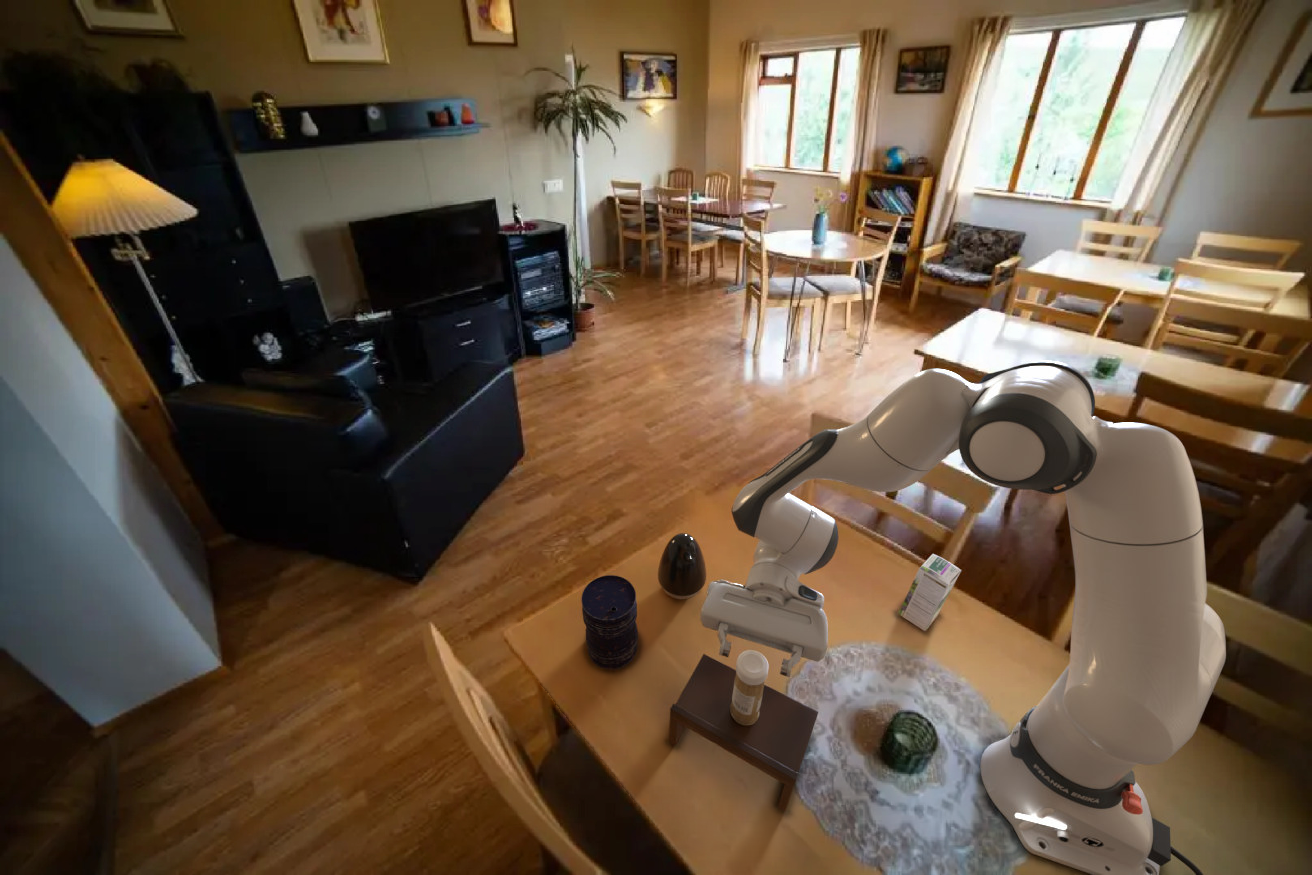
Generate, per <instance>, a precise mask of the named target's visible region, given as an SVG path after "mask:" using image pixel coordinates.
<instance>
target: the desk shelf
mask: <svg viewBox="0 0 1312 875" xmlns="http://www.w3.org/2000/svg"><path fill="white" fill-rule="evenodd" d="M735 677H736V668H733V667H731V666H729V665H727V664H725V663H724V662H721V661H720V660H717V659H715V658H713V657H711V656H710V655H707V654H705V653H703V654H702V656H701V658H700V660H699V661H698V663H697V664H696V667H695V669H694V670H693V672H692V674H691V675H690V677H689V679H688V681H687V683H686V685H685V687H684V688H683V690H682V692H681V694H680V695H679V697H678V699H677V701H676V703H672V705H671V706H670V709H669V743H671V744H673V745H674V746H677V744H678V742H679V740H680V738H681V736H682V734H683V733H684V730H685V729H686V728H687V729H689V730H690V731H692V732H694V733H695V734H697V735H699V736H701V737H702V738H704V739H705V740H708V741H709V742H711V743H713V744H715V745H716V746H717V747H720V748H722V749H723V750H725V751H727V752H728V753H730V754H733V756H735V757H737V758H739V759H740V760H742V761H744V762H745V763H748V764H750V765H751V766H753V767H755V768H756V769H757V770H759V771H762V772H763V773H765V774H766V775H769V776H770V777H771V778H774V779H775V780H777V781H779V782H781V783H782V784H784V786H783V789H782V792H781V796H780V798H779V801H778V805H777V808H779V809H781V810H782V811H784V812H786V811H787V808H788V806H789V802H790V799H791V796H792V794H793V790H794V787H795V785H796V782H797V779H798V776H799V773H800V770H801V767H802V764H803V760H804V757H805V754H806V752H807V748H808V745H809V743H810V739H811V736H812V733H813V730H814V727H815V724H816V722H817V718H818V716H819V710H816V709H814V708H812V707H810V706H808V705H807V704H804V703H802V702H800V701H799V700H796V699H794V698H792V697H790V696H788V695H786V694H784V693H783V692H780V691H778V690H777V689H774V688H773V687H770V686H768V685H766V684H765V683H764V688H763V695H762V701H761V706H760V708H759V717H758V719H757V721H756V722H755V723H754V724H752V725H748V726H745V725H741V724H739V723H737V722H736V721H735V720H734V719H733V717H732V715H731V712H730V707H731V703H732V695H733V688H734V681H735Z"/></svg>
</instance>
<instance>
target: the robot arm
mask: <svg viewBox="0 0 1312 875" xmlns="http://www.w3.org/2000/svg"><path fill="white" fill-rule="evenodd" d="M1095 408H1096V398H1095V392H1094V390H1093V388H1092V385H1091V383H1090V381H1089V380H1088V378H1087V377H1086V376H1085V375H1084V374H1083V373H1082V372H1080V371H1079V370H1078V369H1077V368H1075V367H1074V366H1071V365H1069V364H1066V363H1064V362H1060V361H1057V360H1038V361H1032V362H1027V363H1023V364H1019V365H1016V366H1012V367H1008V368H1006V369H1002V370H998V371H994V372H990V373H987V374H985V375H984V376H983V377H981V379H980V380H979V382H978V383H972V382H969V380H966V379H965V378H964V377H962V376H960V375H959V374H957V373H956V372H953V371H950V370H947V369H944V368H943V369H942V368H929V369H925V370H922V371H919V372H918V373H916V374H915V375H913V376H912V377H910V378H909V379H907V380H905V381H904V382H902V384H901V385H900V386H898V387H897V388H895V389H894V390H893V391H892V392H891V393H889V394H888V395H887V396H886V397H884V399H883V400H882V401H881V402H880V403H879V404H878V405H876V406H875V407H874V409H873V410H872V411H871V412H870V413H868V415H866V417H864V418H863V419H861V420H860V421H857V422H856V423H853V424H850V425H849V426H846V427H842V428H837V429H834V428H833V429H830V428H829V429H827V428H826V429H824V430H821V431H820V432H818V433H816V434H815V435H813V436H812V437H810V438H809V439H807V440H806V441H804V442H803V443H802V444H801V445H799V446H798V447H797V448H795V449H794V450H793V451H792V452H790V453H789V454H787V455H786V456H785V457H784V458H783V459H781V460H780V461H778V462H777V463H776V464H775V465H774V466H773V467H771V468H770V469H768V470H767V471H766V472H764V473H763V474H761V475H760V476H758V477H756V478H754V479H752V480H750V481H749V482H748V483H747V484H746V485H744V486H743V487H742V488H741V489H740V491H739V492H738V493H737V495H736V497H735V499H734V501H733V504H732V506H731V515H732V519H733V522H734V524H735V526H736V528H737V530H738V531H739V532H741V533H743V534H746V535H747V536H749V537H752V538H755V539H757V540H758V541H757V544H756V546H755V550H754V553H753V558H752V560H753V561H752V562H753V564H752V565H751V566H750V569H749V570H748V574H747V578H746V582H745V584H744V585H743V584H740V583H735V582H731V581H728V580H725V579H719V580H714V581H711V582H710V583H708V586H707V589H706V597H705V600H704V602H703V604H702V606H701V608H700V616H699V618H700V622H701V625H702V627H703V628H706V629H710V630H714V631H717V638H718V641H719V645H720V646H719V652H718V655H719V656H722V657H725V658H729V656H730V653H731V648H732V641H728V640H727V636H728V635H729V636H733V637H735V638H740V639H742V640H746V641H749V642H752V643H756V644H758V645H762V646H764V647H769V648H772V649H775V650H778V651H782V652H784V653H787V654H791V655H790V658H789V659H786V658H782V661H781V667H780V672H779V675H781V676H784V677H787V678H790V677H791V674H792V669H794V667H796V665H797V664H799V663H800V662H801V659H802V658H804V659H807V660H810V661H814V662H820V661H822V660H823V659H824V658H825V656H826V653H827V649H828V644H829V625H828V624H829V622H828V617H827V614H826V613H825V611H824V606H825V596H824V595H823V594H822V593H820V592H819V591H818V590H815V589H813V588H811V587H810V586H807V585H806V584H805V583H803V582H802V581H800V577H801V576H802V575H809V574H811V573H813V572H816V571H819V570H820V569H822V568H824V567H825V566H827V565H828V564H829V563H830V561H831V560H832V559H833V558H834V555H835V554H836V550H837V547H838V545H839V544H838V543H839V529H838V525H837V524H838V523H837V522H836V520H835V518H833V517H832V516H830V515H829V514H827V513H825V512H824V511H822V510H821V509H818V508H817V507H815V506H813V505H812V504H809V503H807V502H806V501H804V500H802V499H800V498H799V497H797V496H795V495H793V494H792V493H791V492H792V491H794V490H796V489H797V488H798V487H800V486H801V485H802V484H804V483H806V482H808V481H812V480H828V481H834V482H838V483H842V484H846V485H849V486H854V487H857V488H860V489H863V490H867V491H871V492H876V493H877V492H878V493H892V492H898V491H902V490H903V489H906V488H908V487H910V486H913V485H914V484H915V483H917V482H918V481H920V480H921V479H923V478H924V477H925V476H926V475H928V474H929V472H931V471H932V470H933V469H934V468H936V467H937V466H938V465H939V464H940V463H941V462H943V460H945V459H946V457H948V456H950V455H951V454H952V453H954V452H956V451H958V450H959V454H960V457H961V459H962V462H963V463H964V465H965V466H966V468H968V470H969V471H970V472H971V473H972V474H974V476H976V477H977V478H979V479H981V480H982V481H984V482H986V483H989V484H990V485H991V484H992V485H994V486H997V487H1001V488H1006V489H1012V490H1023V491H1025V490H1026V491H1027V490H1028V491H1034V492H1039V493H1043V494H1046V495H1056V494H1061V493H1064V495H1065V499H1066V506H1067V515H1068V522H1069V523H1068V524H1069V532H1070V539H1071V540H1070V541H1071V548H1072V549H1071V550H1072V556H1073V566H1074V577H1075V582H1074V583H1075V586H1074V588H1075V589H1074V601H1073V608H1072V619H1071V631H1070V652H1069V663H1068V665H1067V666H1066V667H1065V669H1064V670H1063V672H1062V673H1061V674H1060V675H1059V677H1058V678H1057V680H1056V681H1055V682H1054V684H1053V685H1052V686H1051V688H1050V689H1049V690H1048V691H1047V693H1046V694H1045V695H1044V696H1043V697H1042V699H1041V700H1040V701H1039V703H1038V704H1037V705H1035V706H1032V707H1031V708H1030V709H1029V710H1028V711H1027V712H1026V713H1025V714H1024V715H1023V716H1022V718H1021V719H1020V720H1019V721H1017V723H1016V724H1015V726H1014V727H1013V729H1012V731H1011V734H1009V735H1008V736H1006V737H1005V738H1003V739H1001V740H997V741H995V742H992V743H991V744H989V745H988V746H987V747H986V748H985V749H984V751H983V752H982V755H981V758H980V764H979V766H980V770H979V771H980V776H981V780H982V783H983V786H984V788H985V790H986V792H987V794H988V796H989V798H990V799H991V801H992V803H993V804H994V805H995V807H996V808H997V809H998V811H999V812H1000V813H1001V814H1002V815H1003V816H1004V817H1005V819H1006V820H1007V821H1008V822H1009V824H1010V825H1011V826H1012V827H1013V829H1014V831H1015V833H1016V836H1017V837H1018V839H1019V841H1020V843H1021V844H1022V846H1023V848H1025V849H1026V851H1027V852H1029V853H1031V855H1035V856H1038V857H1041V858H1044V859H1047V860H1050V861H1051V862H1055V863H1058V864H1061V865H1064V866H1066V867H1069V868H1072V869H1076V870H1078V871H1080V872H1084V873H1087V874H1090V875H1160V870H1161V868H1160V867H1163V866H1164V865H1166V864H1167V863H1169V862H1171V860H1172V856H1174V857H1175V858H1176V859H1178V861H1180V862H1182V863H1183V864H1184V865H1185V866H1187V868H1189V869H1190V870H1191V872H1193V873H1194V874H1195V875H1204V873H1203V872H1202V871H1201V869H1199V867H1198V866H1197V865H1196V864H1195V863H1194V862H1192V861H1191V860H1190V859H1189V858H1188V857H1186V856H1185V855H1184V854H1183V853H1181V852H1180V851H1178V850H1177V849H1175V848H1174V847H1173V846H1172V844H1171V827H1170V826H1168V825H1167V824H1165V823H1163V822H1161V821H1159V820H1158V819H1156V818H1154V817H1152V814H1151V810H1150V806H1149V803H1148V801H1147V798H1146V796H1145V794H1144V792H1143V789H1142V788H1141V787H1140V785H1139V784H1138V782H1137V781H1136V777H1135V776H1136V775H1135V773H1134V768H1136V767H1137V766H1138V765H1143V766H1144V765H1145V766H1152V765H1153V766H1154V765H1160V764H1162V763H1165V762H1166V761H1168V760H1169V759H1170V758H1171V757H1173V756H1174V755H1176V753H1178V751H1180V749H1182V747H1184V746H1185V744H1186V743H1188V741H1189V740H1191V738H1192V737H1193V736H1194V734H1195V732H1196V731H1197V728H1198V725H1199V724H1200V722H1201V719H1202V717H1203V714H1204V712H1205V711H1206V710H1205V709H1206V707H1207V705H1208V702H1209V701H1210V698H1211V696H1212V693H1213V692H1214V689H1215V686H1216V684H1217V682H1218V680H1219V677H1220V675H1221V672H1222V670H1223V668H1224V666H1225V663H1226V659H1227V641H1226V633H1225V632H1226V631H1225V626H1224V623H1223V621H1222V619H1221V618H1220V616H1219V615H1218V614H1217V613H1216V611H1215V610H1214V609H1213V608H1212V607H1211V606H1210V605H1208V604H1207V603H1206V602H1207V597H1208V583H1207V570H1206V569H1207V568H1206V549H1205V538H1204V537H1205V536H1204V523H1203V522H1204V520H1203V513H1202V512H1203V511H1202V505H1201V500H1200V499H1201V498H1200V493H1199V489H1198V485H1197V480H1196V476H1195V474H1194V470H1193V466H1192V463H1191V461H1190V459H1189V456H1188V453H1187V450H1186V448H1185V446H1184V445H1183V443H1182V441H1181V440H1180V439H1179V438H1178V437H1177V436H1176V435H1175V434H1173V433H1172V432H1170V431H1168V430H1166V429H1165V428H1162V427H1159V426H1156V425H1151V424H1147V423H1142V422H1141V423H1140V422H1116V423H1114V422H1112V421H1106V420H1103V419H1101V418H1099V416H1096V415H1094V414H1095ZM1060 486H1061V488H1058V489H1055V488H1057V487H1060Z"/></svg>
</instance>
